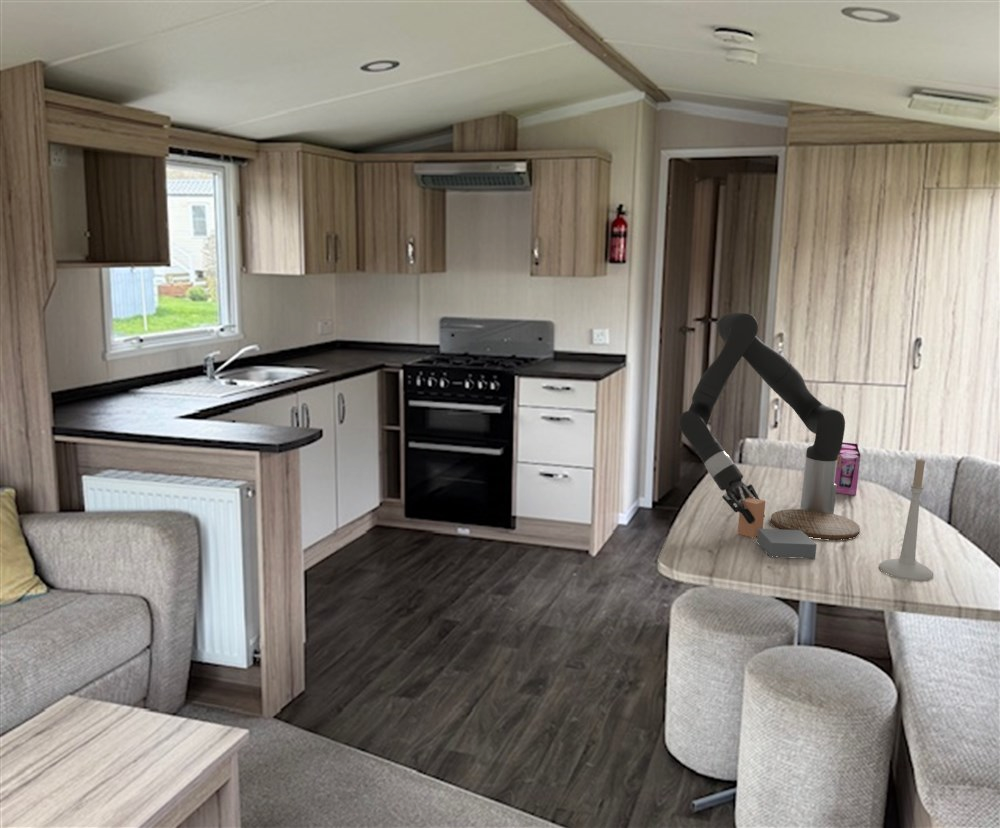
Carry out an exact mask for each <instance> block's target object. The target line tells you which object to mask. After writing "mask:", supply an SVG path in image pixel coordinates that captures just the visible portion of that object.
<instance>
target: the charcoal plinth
mask: <svg viewBox="0 0 1000 828" xmlns="http://www.w3.org/2000/svg"><path fill="white" fill-rule="evenodd" d="M756 538H757V539H756V543H757V542H758V543H759V544H760V545H759V544H758V543H757V544H758V545H759V547H760V546H761V547H762V548H763V549H764V550H765V551H766V552H767V553H766V552H765V551H764V550H763V549H762V548H761V547H760V548H761V549H762V550H763V551H764V552H765V553H766V554H768V555H769V556H770V557H769V556H768V555H767V556H768V557H769V558H777V557H776V556H778V557H803V558H815V559H816V554H817V545H818V544H817V543H816V542H815V541H814V540H813V539H812V538H809V537H808V536H807V535H806V534H805V533H804V532H803V531H802V530H782V529H777V528H775V529H774V528H763V529H758V536H757V537H756ZM772 556H773V557H772ZM803 558H802V559H803Z"/></svg>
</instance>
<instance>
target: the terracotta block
mask: <svg viewBox="0 0 1000 828" xmlns="http://www.w3.org/2000/svg"><path fill="white" fill-rule="evenodd" d="M745 499H746V501H744V503H745V504H746V506H747V509H749V511H750V512H751V514H752V515H753V517H754V518H755V521H754V522H752V523H751V524H749V523H748V522H747V521H746V519H745V518H744V516H743V515H742V513H739V512H738V513H739V515H738V525H737V533H738V534H737V535H739V534H742V535H741V536H743V535H746V536H745V537H747V536H749V537H748V538H750V537H753V538H752V539H755V538H754V537H756V536H758V529H764V520H765V519H764V518H765V517H764V515H765V510H766V500H763V499H760V498H759V499H760V500H759V499H755V497H754V498H749V497H748V498H745ZM741 505H742V504H741ZM756 538H757V537H756Z"/></svg>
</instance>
